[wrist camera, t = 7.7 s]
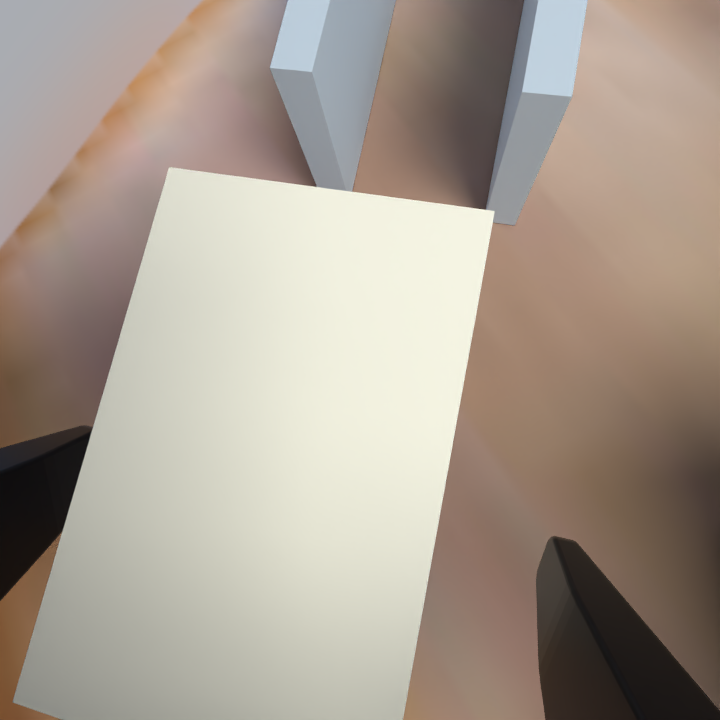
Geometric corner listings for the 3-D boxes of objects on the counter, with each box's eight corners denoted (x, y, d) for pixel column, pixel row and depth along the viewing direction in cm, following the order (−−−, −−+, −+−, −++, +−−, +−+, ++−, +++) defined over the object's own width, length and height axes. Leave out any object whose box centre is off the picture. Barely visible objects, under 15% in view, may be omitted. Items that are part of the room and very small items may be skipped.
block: (407, 555, 17) (383, 830, 5) (287, 525, 17) (12, 702, 6) (443, 364, 18) (494, 210, 6) (329, 343, 18) (169, 167, 7)
